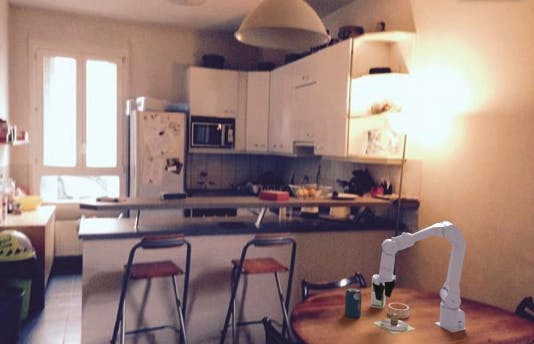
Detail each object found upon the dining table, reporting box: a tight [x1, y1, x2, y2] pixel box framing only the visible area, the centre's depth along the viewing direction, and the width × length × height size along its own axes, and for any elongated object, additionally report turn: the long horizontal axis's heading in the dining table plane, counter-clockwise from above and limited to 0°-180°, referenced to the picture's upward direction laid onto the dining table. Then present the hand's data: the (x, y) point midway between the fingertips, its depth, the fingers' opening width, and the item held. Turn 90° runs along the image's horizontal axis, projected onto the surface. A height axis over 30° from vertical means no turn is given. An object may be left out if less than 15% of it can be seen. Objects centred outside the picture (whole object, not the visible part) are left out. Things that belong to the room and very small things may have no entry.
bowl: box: [387, 302, 410, 319], centre depth 193 cm, size 9×9×4 cm
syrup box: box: [370, 274, 387, 309], centre depth 203 cm, size 6×6×14 cm
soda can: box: [344, 287, 363, 319], centre depth 190 cm, size 7×7×12 cm
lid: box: [380, 313, 409, 332], centre depth 180 cm, size 11×11×5 cm
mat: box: [373, 320, 416, 335], centre depth 180 cm, size 12×12×1 cm
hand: (382, 298), depth 186 cm, fingers open, 7 cm apart
